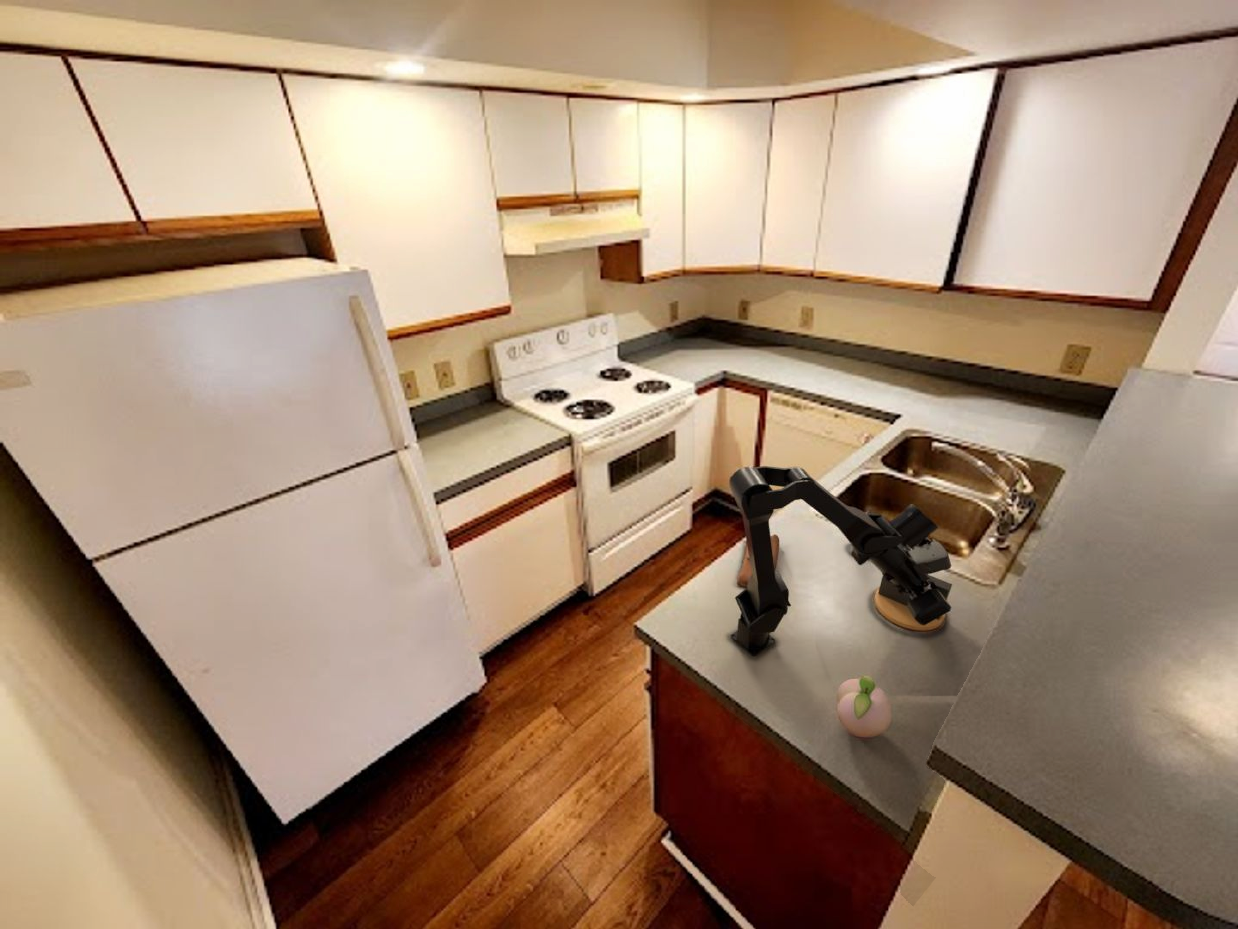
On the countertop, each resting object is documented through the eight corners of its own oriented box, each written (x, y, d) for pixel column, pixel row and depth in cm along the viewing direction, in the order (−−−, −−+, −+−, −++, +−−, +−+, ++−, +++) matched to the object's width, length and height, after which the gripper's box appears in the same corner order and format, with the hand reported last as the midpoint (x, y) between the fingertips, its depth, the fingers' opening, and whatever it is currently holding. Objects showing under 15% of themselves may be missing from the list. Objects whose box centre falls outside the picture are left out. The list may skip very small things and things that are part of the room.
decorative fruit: (885, 760, 85) (899, 720, 81) (831, 743, 88) (841, 704, 83) (883, 711, 93) (895, 672, 88) (834, 697, 96) (842, 659, 91)
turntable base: (921, 646, 105) (922, 643, 104) (857, 606, 115) (858, 602, 115) (958, 615, 112) (959, 611, 111) (894, 579, 122) (895, 576, 121)
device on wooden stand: (932, 641, 105) (944, 607, 100) (864, 609, 113) (872, 577, 108) (951, 604, 113) (963, 571, 109) (887, 577, 121) (895, 546, 117)
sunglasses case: (744, 538, 137) (760, 522, 133) (767, 553, 137) (783, 537, 133) (735, 584, 122) (752, 568, 118) (761, 601, 122) (779, 585, 118)
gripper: (953, 568, 90) (1000, 617, 95) (907, 507, 107) (949, 552, 111) (895, 602, 95) (943, 647, 99) (859, 539, 111) (902, 580, 116)
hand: (935, 603), depth 106 cm, fingers closed
